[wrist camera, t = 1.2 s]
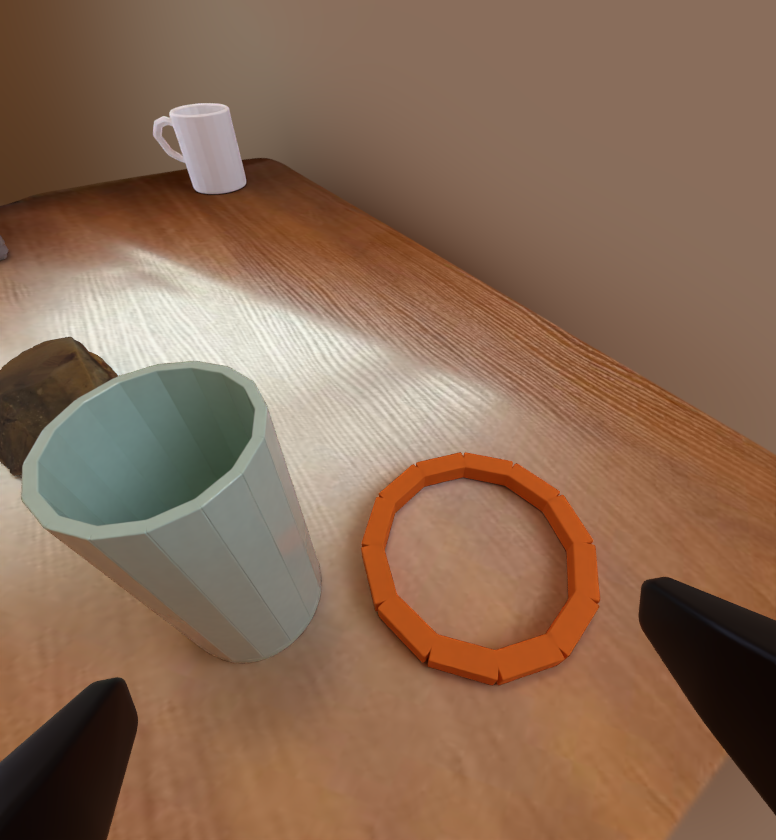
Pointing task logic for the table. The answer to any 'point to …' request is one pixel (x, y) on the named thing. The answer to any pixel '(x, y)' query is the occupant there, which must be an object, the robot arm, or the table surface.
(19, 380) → the decorative stone
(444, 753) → the table surface
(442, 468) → the ring
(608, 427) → the table surface
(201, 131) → the mug
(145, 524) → the cup
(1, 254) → the projector
